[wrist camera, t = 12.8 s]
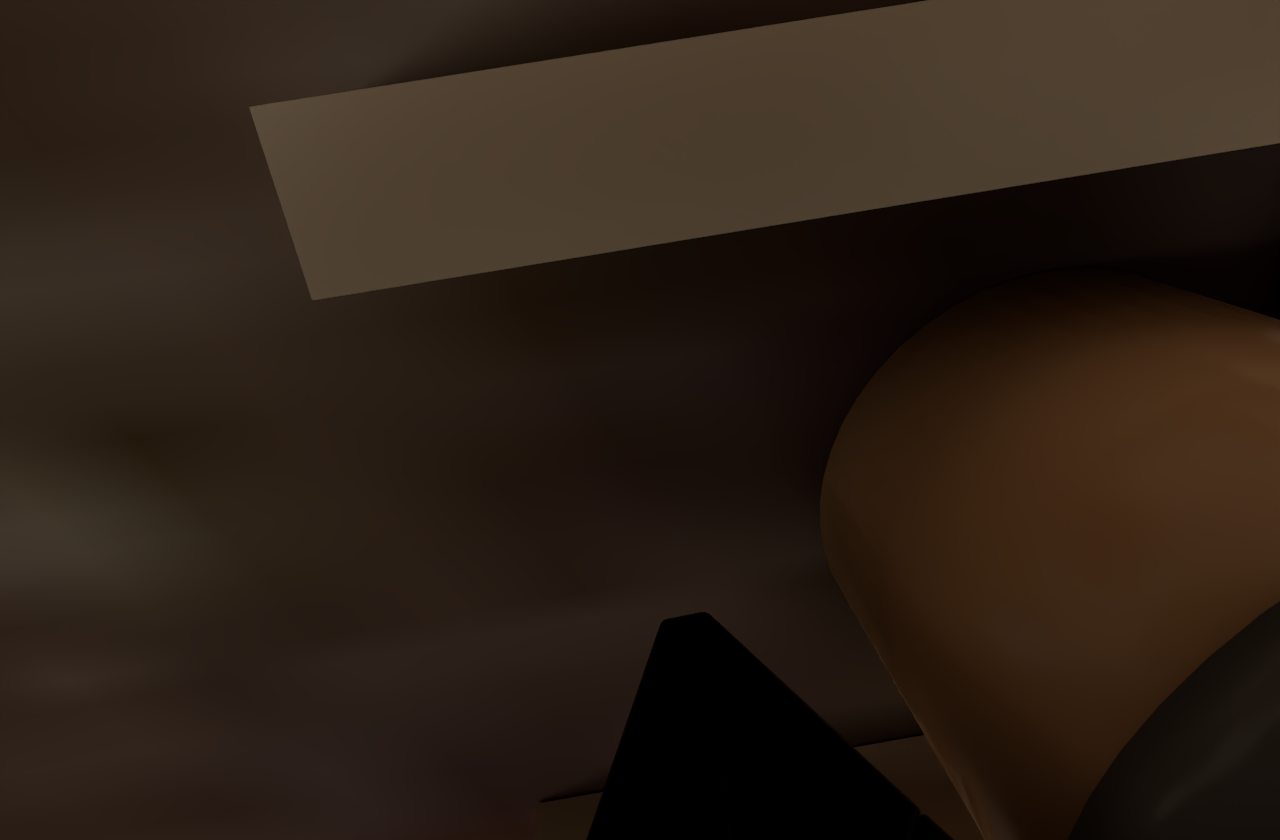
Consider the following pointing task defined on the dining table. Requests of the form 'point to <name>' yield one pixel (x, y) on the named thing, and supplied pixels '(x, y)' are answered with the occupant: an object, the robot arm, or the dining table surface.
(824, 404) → the dining table surface
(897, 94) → the tan piece
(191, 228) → the dining table surface
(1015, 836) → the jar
